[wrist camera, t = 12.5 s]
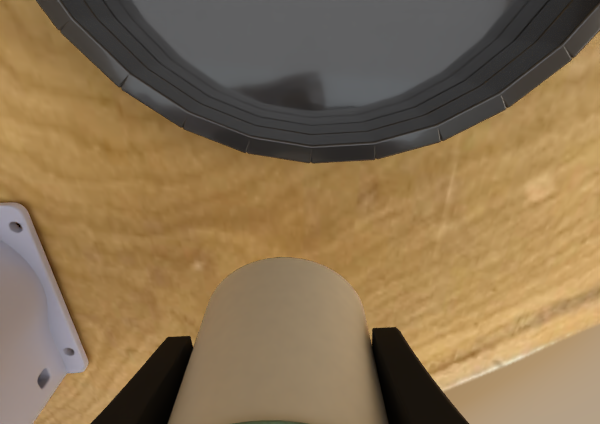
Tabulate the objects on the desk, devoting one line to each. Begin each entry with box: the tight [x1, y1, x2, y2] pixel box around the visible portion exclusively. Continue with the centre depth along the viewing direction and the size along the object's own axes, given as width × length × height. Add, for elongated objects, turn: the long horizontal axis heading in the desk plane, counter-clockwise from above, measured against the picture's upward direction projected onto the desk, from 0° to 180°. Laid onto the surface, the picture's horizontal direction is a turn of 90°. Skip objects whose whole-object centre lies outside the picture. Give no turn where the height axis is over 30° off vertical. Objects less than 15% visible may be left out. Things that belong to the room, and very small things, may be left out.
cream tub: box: [168, 257, 389, 424], centre depth 9 cm, size 5×5×6 cm
